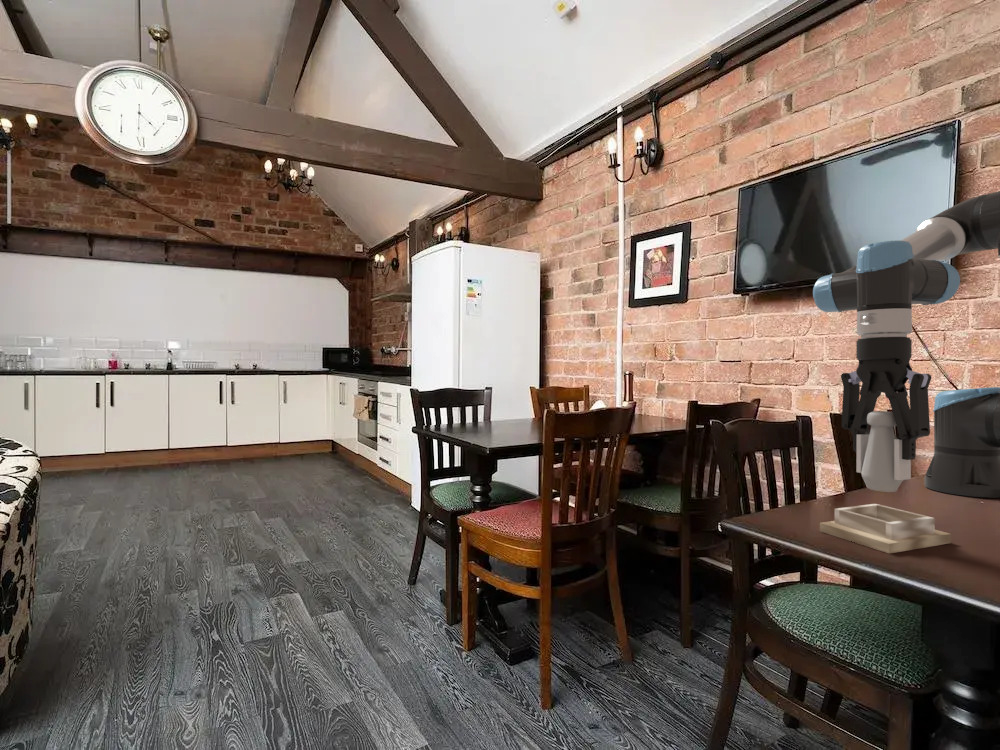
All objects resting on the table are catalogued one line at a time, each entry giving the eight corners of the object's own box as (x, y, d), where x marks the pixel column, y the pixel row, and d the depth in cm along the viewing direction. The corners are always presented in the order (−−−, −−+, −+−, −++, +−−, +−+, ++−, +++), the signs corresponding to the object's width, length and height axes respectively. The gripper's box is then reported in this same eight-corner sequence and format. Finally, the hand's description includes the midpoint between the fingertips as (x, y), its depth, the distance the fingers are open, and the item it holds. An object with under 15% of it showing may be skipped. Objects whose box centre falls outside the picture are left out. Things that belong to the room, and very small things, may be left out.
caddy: (877, 523, 99) (877, 501, 99) (950, 543, 88) (951, 518, 88) (819, 531, 94) (819, 508, 94) (888, 553, 83) (888, 527, 83)
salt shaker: (912, 492, 88) (913, 412, 88) (879, 493, 88) (879, 413, 88) (885, 485, 94) (885, 409, 94) (853, 485, 94) (853, 410, 93)
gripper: (817, 339, 98) (816, 467, 99) (928, 332, 80) (927, 489, 81) (847, 339, 101) (847, 464, 101) (962, 333, 83) (961, 485, 83)
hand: (882, 475), depth 91 cm, fingers closed on salt shaker, 6 cm apart
